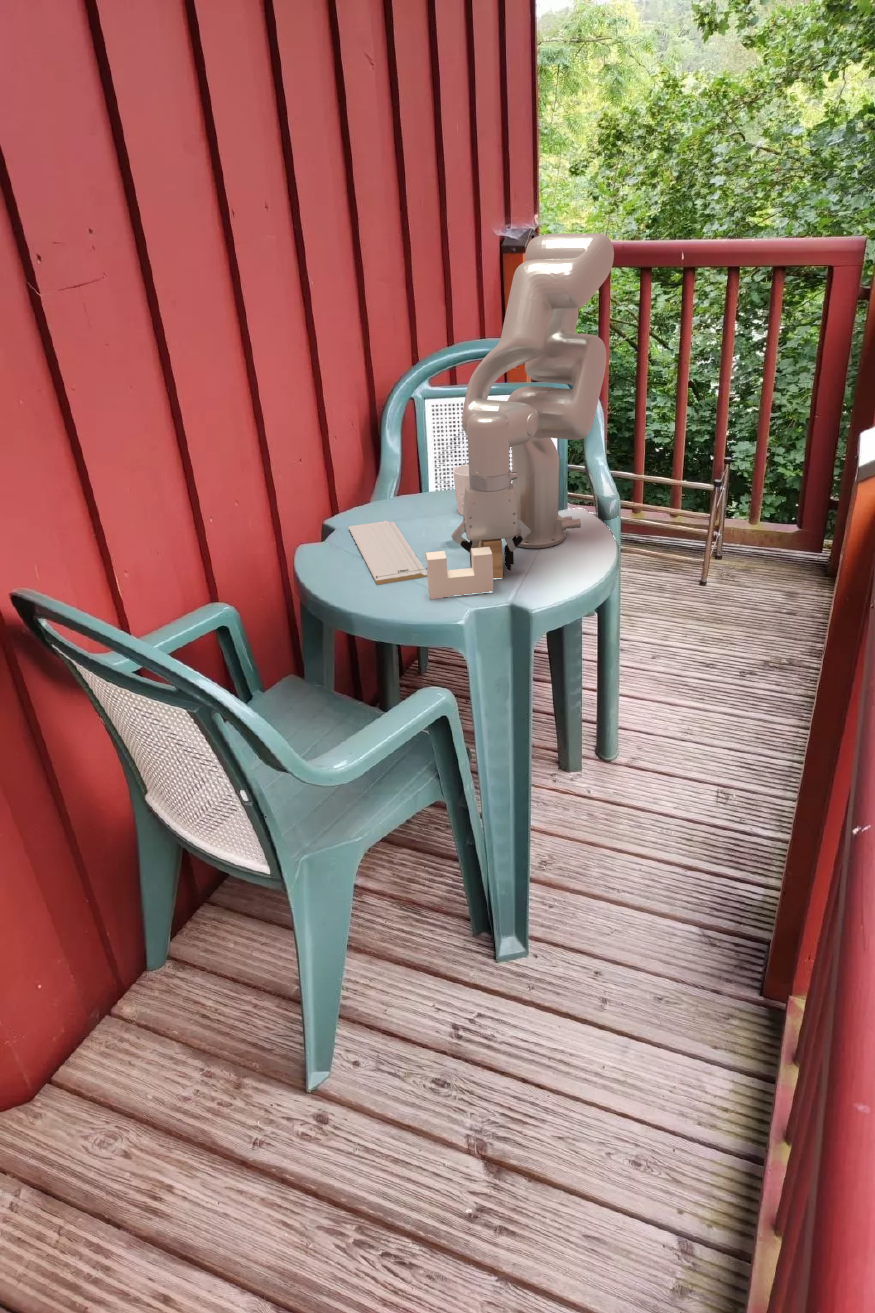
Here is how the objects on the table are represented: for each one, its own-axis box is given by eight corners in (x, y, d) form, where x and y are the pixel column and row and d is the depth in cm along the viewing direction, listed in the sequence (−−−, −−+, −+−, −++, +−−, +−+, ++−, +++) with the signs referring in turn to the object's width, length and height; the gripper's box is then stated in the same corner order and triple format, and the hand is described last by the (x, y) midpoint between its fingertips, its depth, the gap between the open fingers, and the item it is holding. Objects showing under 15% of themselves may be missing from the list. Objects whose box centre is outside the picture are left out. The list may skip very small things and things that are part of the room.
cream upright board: (490, 585, 173) (489, 546, 169) (493, 593, 170) (492, 553, 166) (428, 591, 172) (425, 552, 168) (430, 599, 169) (427, 560, 165)
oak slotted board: (472, 545, 190) (471, 509, 186) (488, 544, 190) (487, 508, 186) (485, 580, 175) (483, 542, 171) (502, 579, 175) (501, 540, 171)
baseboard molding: (400, 524, 205) (348, 532, 202) (399, 512, 203) (347, 520, 201) (435, 577, 178) (376, 588, 176) (434, 564, 177) (375, 574, 175)
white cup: (459, 519, 204) (457, 477, 199) (452, 508, 211) (450, 466, 206) (493, 515, 205) (492, 472, 200) (484, 503, 212) (483, 462, 207)
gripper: (531, 470, 171) (531, 557, 180) (441, 477, 170) (446, 566, 179) (539, 482, 164) (539, 573, 173) (445, 490, 163) (450, 581, 172)
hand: (492, 568), depth 176 cm, fingers open, 5 cm apart
